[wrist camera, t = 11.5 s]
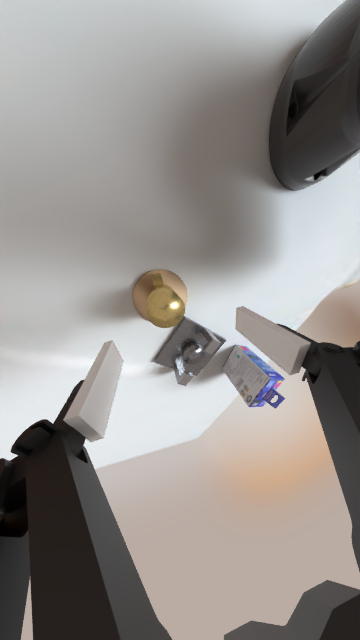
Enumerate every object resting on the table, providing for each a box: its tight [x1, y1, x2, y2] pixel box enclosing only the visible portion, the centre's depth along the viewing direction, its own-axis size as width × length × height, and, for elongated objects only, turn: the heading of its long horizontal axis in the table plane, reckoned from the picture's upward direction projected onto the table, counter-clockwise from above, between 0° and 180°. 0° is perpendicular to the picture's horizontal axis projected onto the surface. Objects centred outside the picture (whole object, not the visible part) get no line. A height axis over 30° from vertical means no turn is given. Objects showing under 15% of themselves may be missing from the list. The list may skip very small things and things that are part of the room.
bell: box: [147, 272, 185, 328], centre depth 23 cm, size 10×6×7 cm, turn 11°
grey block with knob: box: [155, 317, 226, 386], centre depth 32 cm, size 14×14×6 cm
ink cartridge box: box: [222, 345, 285, 408], centre depth 34 cm, size 10×6×14 cm, turn 162°
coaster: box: [133, 270, 187, 321], centre depth 26 cm, size 11×11×1 cm
